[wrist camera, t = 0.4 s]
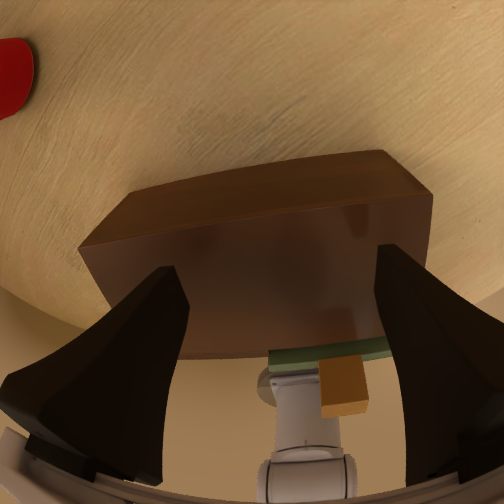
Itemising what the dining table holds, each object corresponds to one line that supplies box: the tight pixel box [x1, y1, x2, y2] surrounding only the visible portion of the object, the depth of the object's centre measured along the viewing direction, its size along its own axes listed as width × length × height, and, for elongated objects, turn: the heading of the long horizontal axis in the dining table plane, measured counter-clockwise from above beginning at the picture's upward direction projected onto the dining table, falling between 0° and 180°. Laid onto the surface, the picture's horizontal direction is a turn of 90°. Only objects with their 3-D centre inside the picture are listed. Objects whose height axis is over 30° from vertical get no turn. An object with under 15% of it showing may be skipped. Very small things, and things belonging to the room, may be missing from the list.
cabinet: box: [78, 150, 433, 360], centre depth 16 cm, size 9×16×7 cm, turn 102°
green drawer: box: [268, 336, 392, 418], centre depth 17 cm, size 2×8×10 cm, turn 102°
